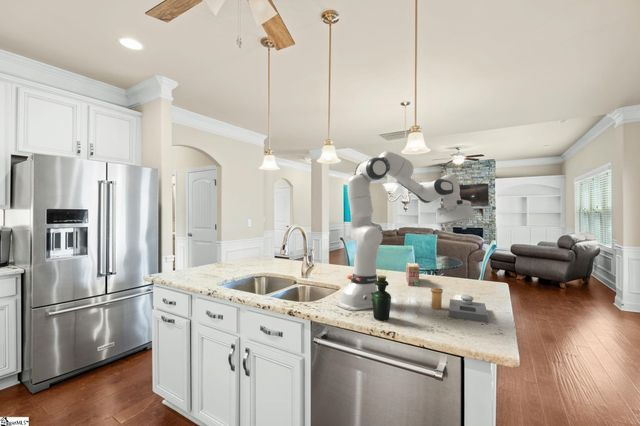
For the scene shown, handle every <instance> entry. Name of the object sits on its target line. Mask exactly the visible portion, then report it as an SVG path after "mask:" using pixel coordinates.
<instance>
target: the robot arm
mask: <svg viewBox="0 0 640 426" xmlns="http://www.w3.org/2000/svg"><path fill="white" fill-rule="evenodd" d="M353 174H354V175H352V176H350V177H349V178H348V180H347V186H346V187H347V199H348V206H349V210H350V213H349V214H350V233H349V235H350V237H351V240H352V241H353V243H355V244H356V246H357V247H356V251H355V256H354V257H353V274H352V275H350V274H348V275H347V277H346V278H347V280H350V282H349V283H348V284H347V285H346V286H345V288H343V289H342V290H341V291H340V296H339V299H338V300H336V301H334V304H335V305H336V306H337V307H340V308H341V309H344V310H349V311H362V310H367V309H373V303H372V294H373V293H374V292H376V291H378V287H377V285H375V282H376V281H378V277H377V276H378V275H377V259H378V254H379V253H378V252H379V250H380V249H379V248H380V245H381V244H382V242H383V238H384V237H383V233H382V231H381V230H380V229H379V228H378V227H377V226H374V225H372V216H373V212H374V210H373V209H374V208H373V203H372V198H371V197H372V196H371V192H370V185H371V183H372V182H374V181H378V180H382V179H383V178H384V177H385V176H386V175H389V176H391V177H393V178H394V179H396V180H397V183H399V185H401V186H402V188H403V187H404V189H407V191H409V192H411V193H412V194H413V195H415V196H416V197H417V199H419V200H420V201H421V202H422V203H425V204H429V203H431V202H433V201H435V200H438V199H441V198H443V199H442V203H443V206H441V207H438V208H437V209H436V210H435V223H436V224H437V225H442V226H443V228H444V230H445V232H450V228H449V227H448V224H451V223H456V222H457V223H458V222H463V223H462V225H461V229H462V230H466V229H467V224H468V222H469V220H473V219H474V218H475V211H474V207H473V206H472V201H470V200H465V199H462V198H461V193H460V191H461V188H460V183H459V179H458V177H457V176H456V175H453V174H445V175H443V176H442V177H441V178H438V179H435V180H433V181H431V182H428V183H426V184H421V183H419V182H417V181H416V180H415V179H413V178H412V177H413V174H414V165H413V163H412V162H411V161H410V160H409V159H407V158H406V157H403V156H402V155H399V154H398V153H395V152H392V151H389V150H385V151H383V152H382V153H380V154H379V156H378V157H377V156H376V157H372V158H369V159H368V158H367V159H366V160H364V161H362V162H359V163H358V165H357V166H356V168H355V171H354V173H353Z"/></svg>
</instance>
